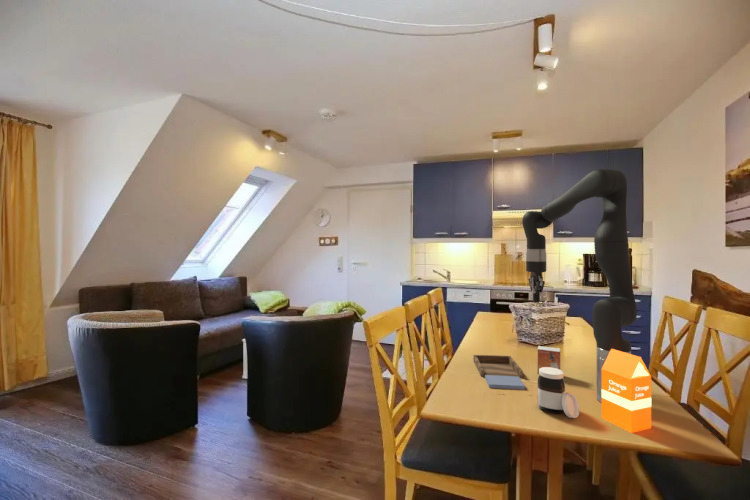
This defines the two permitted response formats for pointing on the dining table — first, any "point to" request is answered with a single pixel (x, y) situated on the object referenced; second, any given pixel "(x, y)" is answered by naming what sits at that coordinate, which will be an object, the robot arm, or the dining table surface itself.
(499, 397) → the dining table surface
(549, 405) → the spread jar
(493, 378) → the cover plate
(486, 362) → the walnut tray
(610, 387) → the orange juice
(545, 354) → the small box
